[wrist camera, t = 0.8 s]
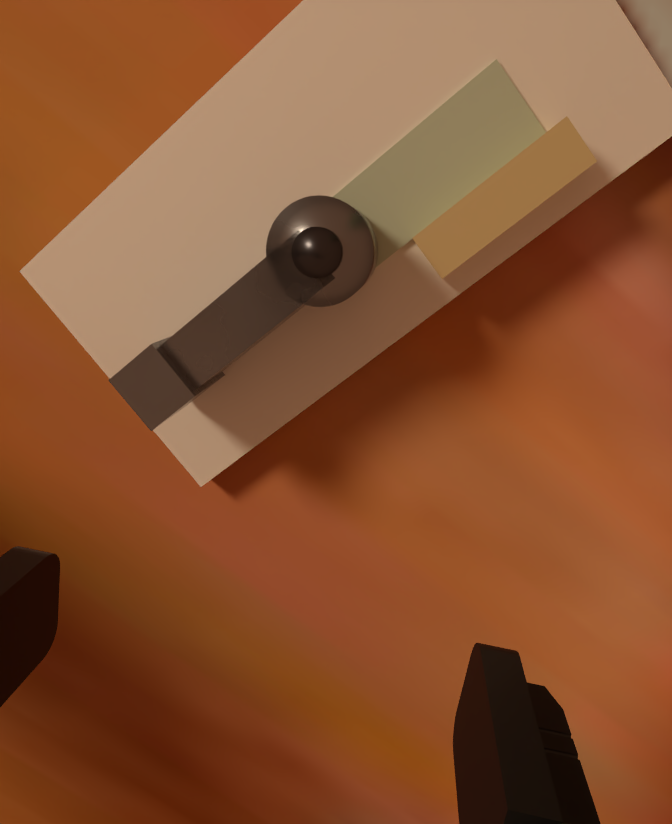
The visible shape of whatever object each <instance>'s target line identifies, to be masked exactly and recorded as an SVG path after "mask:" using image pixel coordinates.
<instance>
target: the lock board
mask: <svg viewBox="0 0 672 824" xmlns="http://www.w3.org/2000/svg"><path fill="white" fill-rule="evenodd" d="M671 136H672V88H671V86H670V85H669V83H668V81H667V80H666V78H665V77H664V75H663V74H662V72H661V70H660V69H659V67H658V66H657V64H656V63H655V61H654V59H653V58H652V56H651V55H650V53H649V52H648V50H647V48H646V47H645V45H644V44H643V42H642V41H641V39H640V37H639V36H638V34H637V33H636V31H635V30H634V28H633V27H632V25H631V23H630V22H629V20H628V19H627V17H626V16H625V14H624V12H623V11H622V9H621V8H620V6H619V5H618V3H617V1H616V0H303V1H302V2H301V3H300V4H299V5H298V6H297V7H296V8H295V9H294V10H293V11H292V12H290V13H289V14H288V15H287V16H286V17H285V18H284V19H283V20H282V21H281V22H280V23H279V24H278V25H277V26H276V27H275V28H274V29H273V30H272V31H271V32H270V33H269V34H267V35H266V36H265V37H264V38H263V39H262V40H261V41H260V42H259V43H258V44H257V45H256V46H255V47H254V48H253V49H252V50H251V51H250V52H249V53H248V54H247V55H245V56H244V57H243V58H242V59H241V60H240V61H239V62H238V63H237V64H236V65H235V66H234V67H233V68H232V69H231V70H230V71H229V72H228V73H227V74H226V75H225V76H223V77H222V78H221V79H220V80H219V81H218V82H217V83H216V84H215V85H214V86H213V87H212V88H211V89H210V90H209V91H208V92H207V93H206V94H205V95H204V96H203V97H201V98H200V99H199V100H198V101H197V102H196V103H195V104H194V105H193V106H192V107H191V108H190V109H189V110H188V111H187V112H186V113H185V114H184V115H183V116H182V117H181V118H180V119H178V120H177V121H176V122H175V123H174V124H173V125H172V126H171V127H170V128H169V129H168V130H167V131H166V132H165V133H164V134H163V135H162V136H161V137H160V138H159V139H158V140H156V141H155V142H154V143H153V144H152V145H151V146H150V147H149V148H148V149H147V150H146V151H145V152H144V153H143V154H142V155H141V156H140V157H139V158H138V159H137V160H136V161H134V162H133V163H132V164H131V165H130V166H129V167H128V168H127V169H126V170H125V171H124V172H123V173H122V174H121V175H120V176H119V177H118V178H117V179H116V180H115V181H114V182H113V183H111V184H110V185H109V186H108V187H107V188H106V189H105V190H104V191H103V192H102V193H101V194H100V195H99V196H98V197H97V198H96V199H95V200H94V201H93V202H92V203H91V204H89V205H88V206H87V207H86V208H85V209H84V210H83V211H82V212H81V213H80V214H79V215H78V216H77V217H76V218H75V219H74V220H73V221H72V222H71V223H70V224H69V225H67V226H66V227H65V228H64V229H63V230H62V231H61V232H60V233H59V234H58V235H57V236H56V237H55V238H54V239H53V240H52V241H51V242H50V243H49V244H48V245H47V246H45V247H44V248H43V249H42V250H41V251H40V252H39V253H38V254H37V255H36V256H35V257H34V258H33V259H32V260H31V261H30V262H29V263H28V264H27V265H26V266H25V267H24V268H22V269H21V270H20V273H21V274H22V275H23V276H24V277H25V278H26V280H27V281H28V282H29V283H30V284H31V286H32V287H33V288H34V289H35V290H36V292H37V293H38V294H39V295H40V296H41V297H42V299H43V300H44V301H45V302H46V303H47V305H48V306H49V307H50V308H51V309H52V311H53V312H54V313H55V314H56V315H57V317H58V318H59V319H60V320H61V321H62V322H63V324H64V325H65V326H66V327H67V328H68V330H69V331H70V332H71V333H72V334H73V336H74V337H75V338H76V339H77V340H78V341H79V343H80V344H81V345H82V346H83V347H84V349H85V350H86V351H87V352H88V353H89V355H90V356H91V357H92V358H93V359H94V360H95V362H96V363H97V364H98V365H99V366H100V368H101V369H102V370H103V371H104V372H105V374H106V375H107V376H108V377H109V378H111V377H113V376H114V375H115V374H116V373H117V372H119V371H120V370H121V369H122V368H123V367H125V366H126V365H127V364H128V363H129V362H130V361H132V360H133V359H134V358H135V357H136V356H138V355H139V354H140V353H141V352H142V351H143V350H145V349H146V348H147V347H148V346H149V345H151V344H152V343H155V342H157V341H160V340H163V339H165V338H168V337H170V336H173V335H174V334H175V333H176V332H177V331H179V330H180V329H181V328H182V327H183V326H185V325H186V324H187V323H188V322H189V321H190V320H192V319H193V318H194V317H195V316H196V315H198V314H199V313H200V312H201V311H202V310H204V309H205V308H206V307H207V306H208V305H210V304H211V303H212V302H213V301H214V300H215V299H217V298H218V297H219V296H220V295H221V294H223V293H224V292H225V291H226V290H227V289H229V288H230V287H231V286H232V285H233V284H235V283H236V282H237V281H238V280H239V279H240V278H242V277H243V276H244V275H245V274H246V273H248V272H249V271H250V270H251V269H252V268H254V267H255V266H256V265H257V264H258V263H260V262H261V261H262V260H263V259H264V258H266V243H267V237H268V234H269V231H270V228H271V226H272V224H273V222H274V221H275V219H276V218H277V216H278V215H279V214H280V213H281V212H282V211H283V210H284V209H285V208H286V207H287V206H288V205H290V204H291V203H293V202H295V201H297V200H299V199H302V198H304V197H309V196H316V195H322V196H330V197H334V198H337V199H339V200H341V201H343V202H345V203H347V204H349V205H350V206H352V207H354V208H355V209H357V210H358V211H360V212H361V213H362V214H363V215H364V216H365V217H366V218H367V219H368V221H369V222H370V224H371V225H372V227H373V229H374V231H375V234H376V237H377V242H378V259H377V264H376V267H375V270H374V272H373V274H372V276H371V277H370V279H369V280H368V281H367V283H366V284H365V285H364V286H363V287H362V288H361V289H359V290H358V291H357V292H356V293H355V294H354V295H353V296H351V297H350V298H348V299H347V300H345V301H343V302H341V303H339V304H336V305H332V306H327V307H313V306H308V305H305V306H304V307H303V308H301V309H300V310H299V311H298V312H296V313H295V314H294V315H293V316H291V317H290V318H289V319H288V320H286V321H285V322H284V323H283V324H281V325H280V326H279V327H278V328H276V329H275V330H274V331H273V332H271V333H270V334H269V335H268V336H266V337H265V338H264V339H263V340H261V341H260V342H259V343H258V344H256V345H255V346H254V347H253V348H251V349H250V350H249V351H248V352H246V353H245V354H244V355H243V356H241V357H240V358H239V359H238V360H236V361H235V362H234V363H233V364H231V365H230V366H229V367H228V368H226V369H225V370H224V371H222V372H223V373H224V374H225V376H223V377H222V378H221V379H220V380H218V381H217V382H216V383H215V384H213V385H212V386H211V387H210V388H208V389H207V390H206V391H204V392H203V393H202V394H201V395H199V396H198V397H197V398H196V399H194V400H193V401H192V402H191V403H189V404H188V405H187V406H185V407H184V408H183V409H181V410H180V411H179V412H177V413H176V414H174V415H173V416H172V417H170V418H169V419H167V420H166V421H165V422H163V423H162V424H160V425H159V426H158V427H156V428H155V429H154V430H153V431H154V432H155V433H156V434H157V435H158V437H159V438H160V439H161V440H162V441H163V443H164V444H165V445H166V446H167V447H168V448H169V450H170V451H171V452H172V453H173V454H174V456H175V457H176V458H177V459H178V460H179V462H180V463H181V464H182V465H183V466H184V467H185V469H186V470H187V471H188V472H189V473H190V475H191V476H192V477H193V478H194V479H195V481H196V482H197V483H198V484H199V485H200V486H201V487H202V486H203V485H204V484H206V483H207V482H208V481H210V480H211V479H212V478H214V477H215V476H216V475H218V474H219V473H220V472H222V471H223V470H224V469H226V468H227V467H228V466H230V465H231V464H232V463H234V462H235V461H236V460H238V459H239V458H240V457H242V456H243V455H244V454H246V453H247V452H249V451H250V450H251V449H253V448H254V447H255V446H257V445H258V444H259V443H261V442H262V441H263V440H265V439H266V438H267V437H269V436H270V435H271V434H273V433H274V432H275V431H277V430H278V429H279V428H281V427H282V426H283V425H285V424H286V423H287V422H289V421H290V420H291V419H293V418H294V417H295V416H297V415H298V414H300V413H301V412H302V411H304V410H305V409H306V408H308V407H309V406H310V405H312V404H313V403H314V402H316V401H317V400H318V399H320V398H321V397H322V396H324V395H325V394H326V393H328V392H329V391H330V390H332V389H333V388H334V387H336V386H337V385H338V384H340V383H341V382H342V381H344V380H345V379H346V378H348V377H349V376H351V375H352V374H353V373H355V372H356V371H357V370H359V369H360V368H361V367H363V366H364V365H365V364H367V363H368V362H369V361H371V360H372V359H373V358H375V357H376V356H377V355H379V354H380V353H381V352H383V351H384V350H385V349H387V348H388V347H389V346H391V345H392V344H393V343H395V342H396V341H398V340H399V339H400V338H402V337H403V336H404V335H406V334H407V333H408V332H410V331H411V330H412V329H414V328H415V327H416V326H418V325H419V324H420V323H422V322H423V321H424V320H426V319H427V318H428V317H430V316H431V315H432V314H434V313H435V312H436V311H438V310H439V309H440V308H442V307H443V306H444V305H446V304H447V303H449V302H450V301H451V300H453V299H454V298H455V297H457V296H458V295H459V294H461V293H462V292H463V291H465V290H466V289H467V288H469V287H470V286H471V285H473V284H474V283H475V282H477V281H478V280H479V279H481V278H482V277H483V276H485V275H486V274H487V273H489V272H490V271H491V270H493V269H494V268H495V267H497V266H498V265H500V264H501V263H502V262H504V261H505V260H506V259H508V258H509V257H510V256H512V255H513V254H514V253H516V252H517V251H518V250H520V249H521V248H522V247H524V246H525V245H526V244H528V243H529V242H530V241H532V240H533V239H534V238H536V237H537V236H538V235H540V234H541V233H542V232H544V231H545V230H547V229H548V228H549V227H551V226H552V225H553V224H555V223H556V222H557V221H559V220H560V219H561V218H563V217H564V216H565V215H567V214H568V213H569V212H571V211H572V210H573V209H575V208H576V207H577V206H579V205H580V204H581V203H583V202H584V201H585V200H587V199H588V198H589V197H591V196H592V195H593V194H595V193H596V192H598V191H599V190H600V189H602V188H603V187H604V186H606V185H607V184H608V183H610V182H611V181H612V180H614V179H615V178H616V177H618V176H619V175H620V174H622V173H623V172H624V171H626V170H627V169H628V168H630V167H631V166H632V165H634V164H635V163H636V162H638V161H639V160H640V159H642V158H643V157H644V156H646V155H647V154H649V153H650V152H651V151H653V150H654V149H655V148H657V147H658V146H659V145H661V144H662V143H663V142H665V141H666V140H667V139H669V138H670V137H671Z"/></svg>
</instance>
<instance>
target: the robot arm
mask: <svg viewBox="0 0 672 824" xmlns="http://www.w3.org/2000/svg"><path fill="white" fill-rule="evenodd" d="M59 577H60V561H59V558H58V556H57V555H56V554H53V553H48V552H43V551H38V550H34V549H29V548H24V547H19V546H17V547H14V548H12V549H10V550H9V551H8V552H6V553H5V554H4V555H3V556H1V557H0V707H1V706H2V705H3V704H4V702H5V701H6V700H7V699H8V698H9V697H10V696H11V695H12V693H13V692H14V691H15V690H16V689H17V688H18V687H19V686H20V684H21V683H22V682H23V681H24V680H25V679H26V678H27V676H28V675H29V674H30V673H31V672H32V671H33V670H34V669H35V667H36V666H37V665H38V664H39V663H40V662H41V661H42V660H43V658H44V657H45V656H46V654H47V653H48V651H49V649H50V647H51V645H52V643H53V640H54V637H55V634H56V630H57V623H58V601H59ZM453 754H454V765H455V777H456V789H457V801H458V813H459V824H600V821H599V818H598V815H597V812H596V809H595V805H594V802H593V799H592V796H591V793H590V790H589V787H588V784H587V781H586V778H585V775H584V772H583V769H582V766H581V763H580V760H578V753H577V750H576V747H575V744H574V741H573V739H571V732H570V729H569V726H568V723H567V720H566V717H565V714H564V711H563V709H562V708H561V706H560V705H559V704H558V703H557V701H556V700H555V699H554V698H553V696H552V695H551V694H550V693H549V691H548V690H547V689H546V687H545V686H541V685H536V684H531V683H527V682H526V678H525V675H524V671H523V667H522V663H521V659H520V656H519V653H518V652H517V651H515V650H510V649H505V648H500V647H495V646H490V645H486V644H481V643H476V644H475V645H474V647H473V650H472V653H471V657H470V661H469V665H468V669H467V673H466V676H465V680H464V684H463V688H462V692H461V696H460V700H459V704H458V708H457V712H456V717H455V723H454V733H453Z"/></svg>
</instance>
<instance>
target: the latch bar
mask: <svg viewBox="0 0 672 824" xmlns="http://www.w3.org/2000/svg"><path fill="white" fill-rule="evenodd" d="M377 259H378V242H377V237H376V234H375V231H374V229H373V227H372V225H371V224H370V222H369V221H368V219H367V218H366V217H365V216H364V215H363V214H362V213H361V212H360V211H358V210H357V209H355V208H354V207H352V206H350V205H349V204H347V203H345V202H343V201H341V200H339V199H337V198H334V197H330V196H322V195H316V196H309V197H304V198H302V199H299V200H297V201H295V202H293V203H291V204H290V205H288V206H287V207H286V208H285V209H284V210H283V211H282V212H281V213H280V214H279V215H278V216H277V218H276V219H275V221H274V222H273V224H272V226H271V228H270V231H269V234H268V237H267V243H266V258H264V259H263V260H262V261H261V262H260V263H258V264H257V265H256V266H255V267H254V268H252V269H251V270H250V271H249V272H248V273H246V274H245V275H244V276H243V277H242V278H240V279H239V280H238V281H237V282H236V283H235V284H233V285H232V286H231V287H230V288H229V289H227V290H226V291H225V292H224V293H223V294H221V295H220V296H219V297H218V298H217V299H215V300H214V301H213V302H212V303H211V304H210V305H208V306H207V307H206V308H205V309H204V310H202V311H201V312H200V313H199V314H198V315H196V316H195V317H194V318H193V319H192V320H190V321H189V322H188V323H187V324H186V325H185V326H183V327H182V328H181V329H180V330H179V331H177V332H176V333H175V334H174V335H173V336H170V337H168V338H165V339H163V340H160V341H157V342H155V343H152V344H151V345H149V346H148V347H147V348H146V349H145V350H143V351H142V352H141V353H140V354H139V355H138V356H136V357H135V358H134V359H133V360H132V361H130V362H129V363H128V364H127V365H126V366H125V367H123V368H122V369H121V370H120V371H119V372H117V373H116V374H115V375H114V376H113V377H111V378H110V379H109V382H110V383H111V384H112V385H113V386H114V388H115V389H116V390H117V391H118V392H119V393H120V395H121V396H122V397H123V398H124V399H125V401H126V402H127V403H128V404H129V405H130V407H131V408H132V409H133V410H134V411H135V412H136V414H137V415H138V416H139V417H140V418H141V420H142V421H143V422H144V423H145V424H146V426H147V427H148V428H149V429H150V430H151V431H152V430H154V429H155V428H156V427H158V426H159V425H160V424H162V423H163V422H165V421H166V420H167V419H169V418H170V417H172V416H173V415H174V414H176V413H177V412H179V411H180V410H181V409H183V408H184V407H185V406H187V405H188V404H189V403H191V402H192V401H193V400H194V399H196V398H197V397H198V396H199V395H201V394H202V393H203V392H204V391H206V390H207V389H208V388H210V387H211V386H212V385H213V384H215V383H216V382H217V381H218V380H220V379H221V378H222V377H223V376H225V374H224V373H223V372H222V371H224V370H225V369H226V368H228V367H229V366H230V365H231V364H233V363H234V362H235V361H236V360H238V359H239V358H240V357H241V356H243V355H244V354H245V353H246V352H248V351H249V350H250V349H251V348H253V347H254V346H255V345H256V344H258V343H259V342H260V341H261V340H263V339H264V338H265V337H266V336H268V335H269V334H270V333H271V332H273V331H274V330H275V329H276V328H278V327H279V326H280V325H281V324H283V323H284V322H285V321H286V320H288V319H289V318H290V317H291V316H293V315H294V314H295V313H296V312H298V311H299V310H300V309H301V308H303V307H304V306H305V305H308V306H313V307H327V306H332V305H336V304H339V303H341V302H343V301H345V300H347V299H348V298H350V297H351V296H353V295H354V294H355V293H356V292H357V291H358V290H359V289H361V288H362V287H363V286H364V285H365V284H366V283H367V281H368V280H369V279H370V277H371V276H372V274H373V272H374V270H375V267H376V264H377Z"/></svg>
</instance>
